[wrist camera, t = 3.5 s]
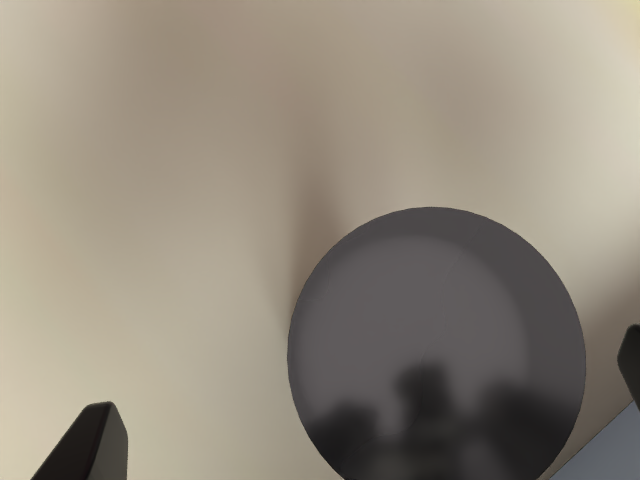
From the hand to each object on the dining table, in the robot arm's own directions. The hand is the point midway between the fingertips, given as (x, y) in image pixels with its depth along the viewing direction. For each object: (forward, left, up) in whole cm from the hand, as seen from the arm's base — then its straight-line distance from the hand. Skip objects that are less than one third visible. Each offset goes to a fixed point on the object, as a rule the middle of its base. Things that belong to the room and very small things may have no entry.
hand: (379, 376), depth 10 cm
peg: (0, 0, -8) cm, 8 cm away
